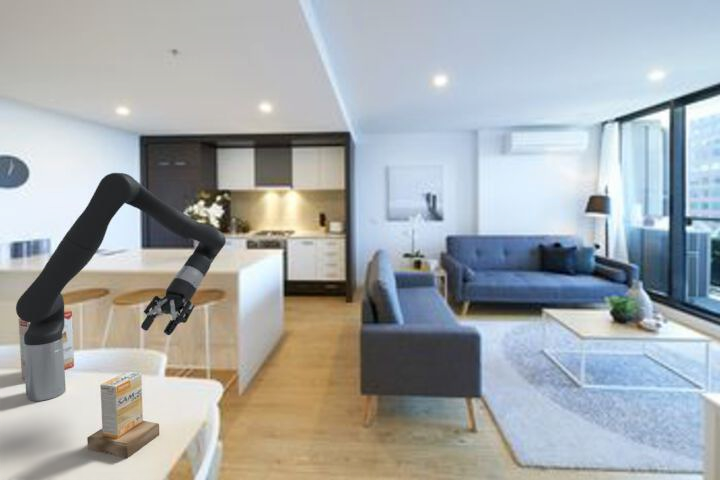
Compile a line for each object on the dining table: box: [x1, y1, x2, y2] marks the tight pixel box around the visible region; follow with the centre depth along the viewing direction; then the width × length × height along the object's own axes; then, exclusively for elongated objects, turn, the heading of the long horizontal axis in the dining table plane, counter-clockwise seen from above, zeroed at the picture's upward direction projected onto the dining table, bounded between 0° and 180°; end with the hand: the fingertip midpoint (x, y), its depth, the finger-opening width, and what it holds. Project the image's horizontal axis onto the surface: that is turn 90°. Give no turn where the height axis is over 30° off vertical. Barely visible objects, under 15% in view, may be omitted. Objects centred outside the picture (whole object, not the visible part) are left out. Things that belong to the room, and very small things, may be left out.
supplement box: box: [100, 371, 144, 438], centre depth 102 cm, size 8×5×13 cm, turn 164°
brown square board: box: [86, 420, 160, 459], centre depth 102 cm, size 12×10×3 cm
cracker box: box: [18, 309, 75, 380], centre depth 141 cm, size 14×6×21 cm, turn 158°
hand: (154, 331), depth 115 cm, fingers open, 8 cm apart
